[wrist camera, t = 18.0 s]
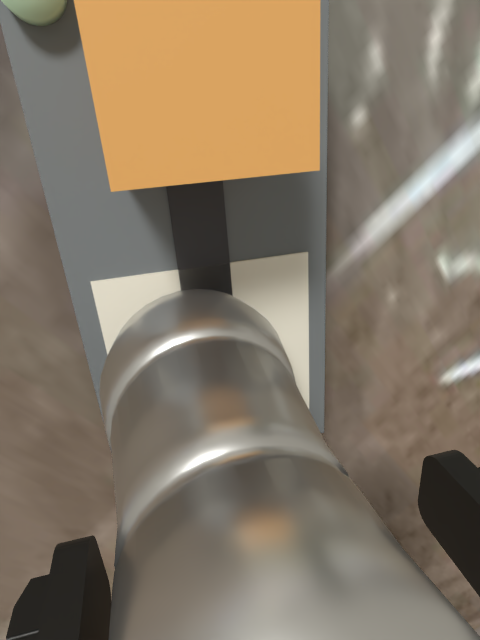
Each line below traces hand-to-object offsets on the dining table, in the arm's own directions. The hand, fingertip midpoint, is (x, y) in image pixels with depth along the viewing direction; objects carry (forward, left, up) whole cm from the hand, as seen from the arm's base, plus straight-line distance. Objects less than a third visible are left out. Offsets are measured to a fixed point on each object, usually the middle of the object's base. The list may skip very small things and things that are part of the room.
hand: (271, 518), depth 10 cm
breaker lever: (+9, 0, -8) cm, 13 cm away
